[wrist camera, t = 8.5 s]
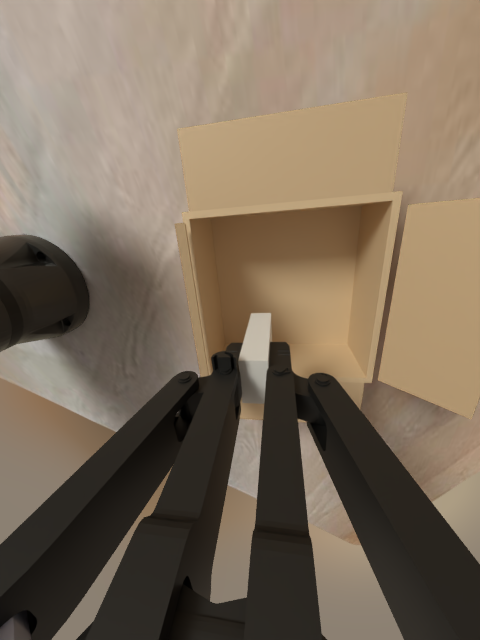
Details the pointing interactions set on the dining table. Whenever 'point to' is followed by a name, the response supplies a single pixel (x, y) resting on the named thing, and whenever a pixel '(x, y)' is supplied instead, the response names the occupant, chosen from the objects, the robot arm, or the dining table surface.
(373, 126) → the carton
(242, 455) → the dining table surface
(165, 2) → the dining table surface
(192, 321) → the flap
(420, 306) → the flap
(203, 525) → the robot arm
